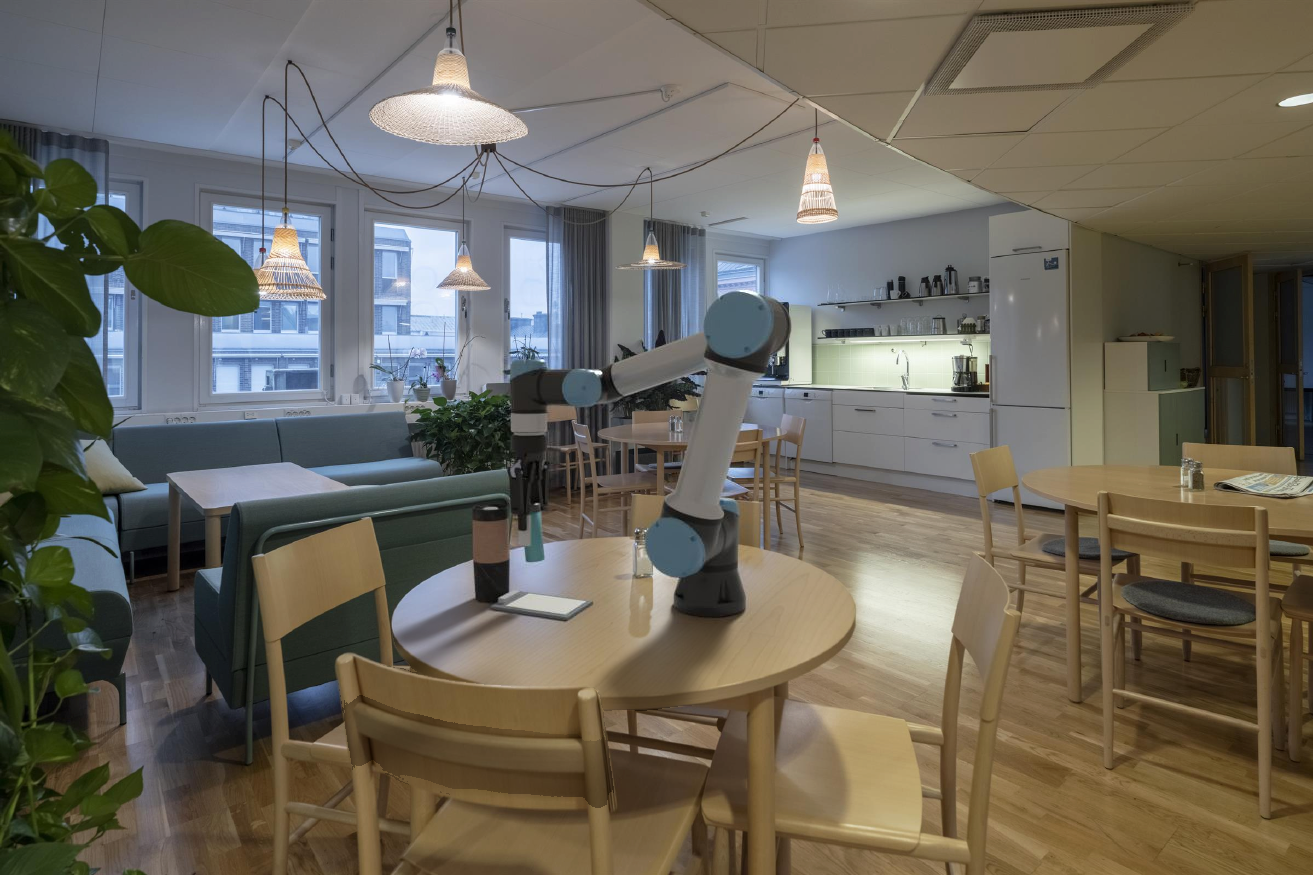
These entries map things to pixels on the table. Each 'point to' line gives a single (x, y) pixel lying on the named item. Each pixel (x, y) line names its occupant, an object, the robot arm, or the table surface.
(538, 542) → the marker
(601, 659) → the table surface
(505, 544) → the travel mug
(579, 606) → the clipboard
